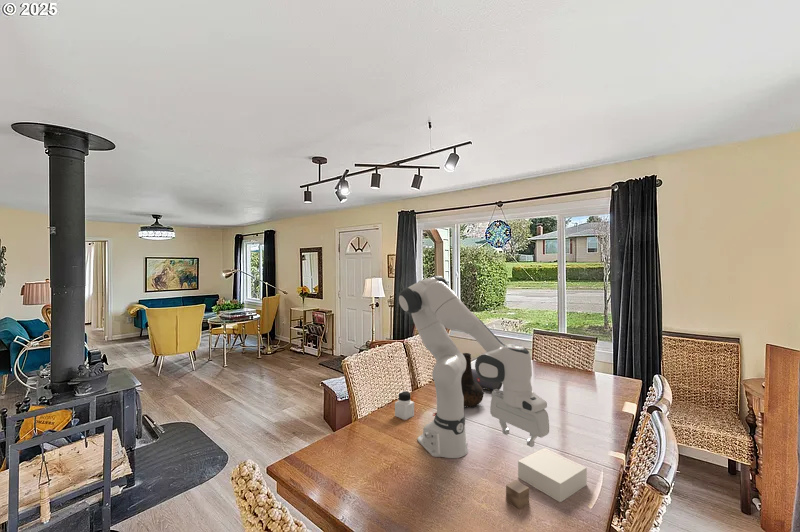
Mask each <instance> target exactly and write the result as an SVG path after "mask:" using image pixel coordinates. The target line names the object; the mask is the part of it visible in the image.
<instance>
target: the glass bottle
mask: <svg viewBox="0 0 800 532" xmlns="http://www.w3.org/2000/svg"><path fill="white" fill-rule="evenodd" d="M462 354H463V355H464V357H465V359H466V370H465V372H464V373H463V375H462V378H461V386H462V393H463V396H464V408H475V407H476V406H479V404H481V402H482V401H483V399H484V396H485V395H484V390H483V388H482V387H481V386H480V385H479V384H478V383H476V382H475V381H474V379H473V375H472V369H473V368H472V356H471V355H472V354H471V353H469V352H468V353H467V352H463V353H462Z"/></svg>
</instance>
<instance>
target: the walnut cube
mask: <svg viewBox="0 0 800 532" xmlns="http://www.w3.org/2000/svg"><path fill="white" fill-rule="evenodd" d="M505 501H506V502H508V503H509V504H511V505H512V506H513V507H515V508H517V509H518V510H520V509H522V508H524V507H525V506H527V505H529V503H530V487H529V486H527V485H525V484H523V483H522V482H521V481H519V480H518V479H515V480H512V481H511V482H509V483H508V484H506V485H505Z"/></svg>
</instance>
